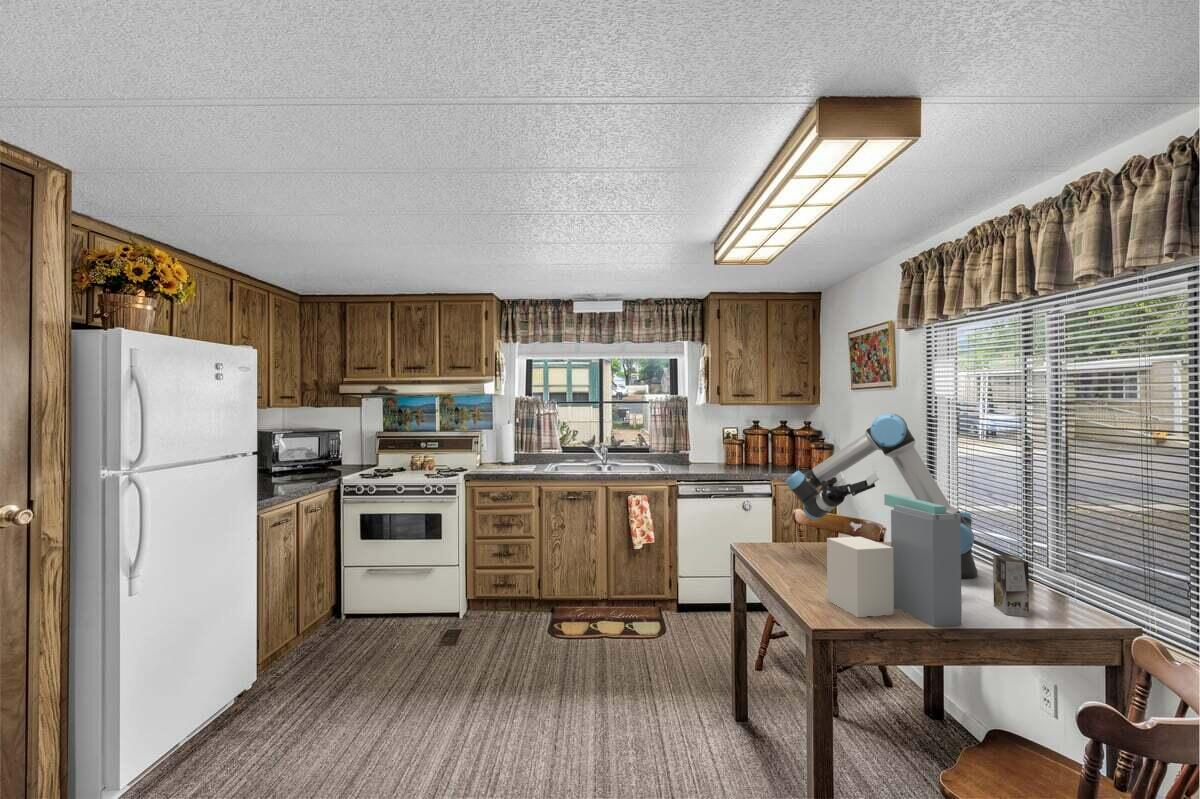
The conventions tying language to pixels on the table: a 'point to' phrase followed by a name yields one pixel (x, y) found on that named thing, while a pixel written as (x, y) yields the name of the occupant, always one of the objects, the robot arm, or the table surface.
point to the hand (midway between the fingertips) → (860, 475)
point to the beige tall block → (860, 576)
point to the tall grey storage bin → (927, 565)
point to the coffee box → (1011, 585)
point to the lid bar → (913, 504)
